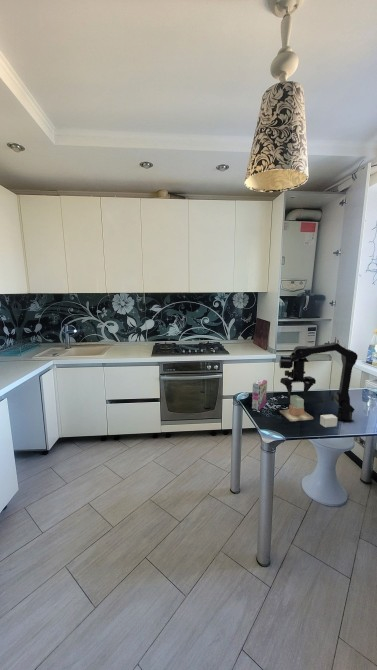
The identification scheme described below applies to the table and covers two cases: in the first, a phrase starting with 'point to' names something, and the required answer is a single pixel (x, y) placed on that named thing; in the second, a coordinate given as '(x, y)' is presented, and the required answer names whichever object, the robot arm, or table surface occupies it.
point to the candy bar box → (259, 394)
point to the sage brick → (297, 401)
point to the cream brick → (328, 420)
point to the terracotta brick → (295, 411)
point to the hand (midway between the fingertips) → (297, 395)
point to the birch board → (296, 418)
